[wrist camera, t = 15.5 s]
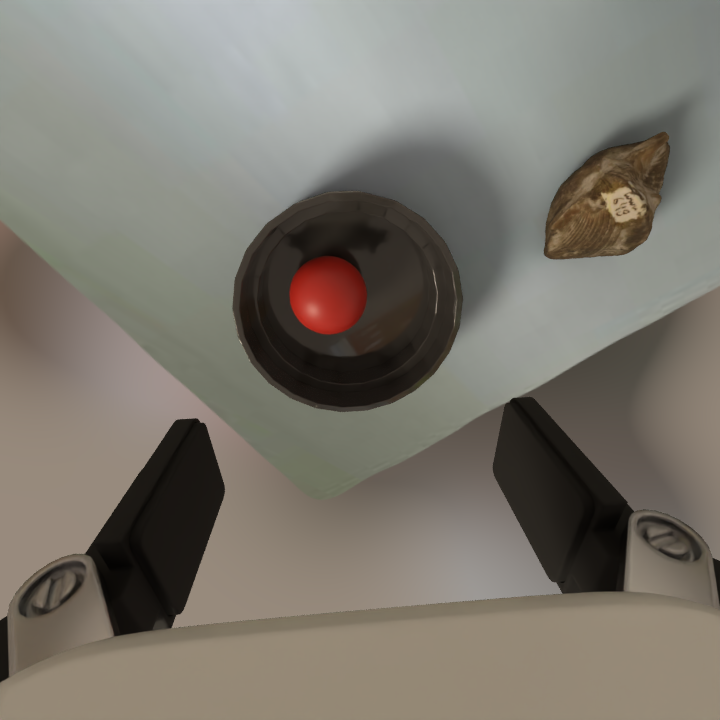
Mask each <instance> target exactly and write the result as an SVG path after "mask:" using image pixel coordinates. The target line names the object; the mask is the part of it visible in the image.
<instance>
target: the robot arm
mask: <svg viewBox="0 0 720 720" xmlns="http://www.w3.org/2000/svg"><path fill="white" fill-rule="evenodd" d="M493 473H494V476H495V478H496V480H497V482H498V484H499V486H500V488H501V490H502V492H503V493H504V495H505V497H506V499H507V501H508V503H509V505H510V506H511V508H512V510H513V512H514V514H515V516H516V518H517V520H518V522H519V523H520V525H521V527H522V529H523V531H524V533H525V534H526V537H527V538H528V540H529V542H530V544H531V546H532V548H533V550H534V552H535V553H536V555H537V557H538V559H539V561H540V563H541V564H542V567H543V568H544V570H545V572H546V574H547V576H548V577H549V579H550V580H551V581H552V582H557V584H558V586H559V588H560V590H561V592H562V593H563V594H553V595H538V596H524V597H512V598H499V599H487V600H475V601H463V602H450V603H438V604H428V605H427V604H426V605H415V606H403V607H391V608H381V609H369V610H357V611H346V612H335V613H323V614H312V615H301V616H291V617H279V618H269V619H258V620H247V621H237V622H226V623H216V624H206V625H197V626H188V627H179V628H172V625H173V622H174V619H175V617H176V615H178V614H181V613H182V611H183V610H184V607H185V605H186V602H187V599H188V596H189V594H190V591H191V588H192V585H193V582H194V580H195V577H196V574H197V571H198V568H199V565H200V563H201V560H202V557H203V554H204V551H205V549H206V546H207V543H208V540H209V537H210V534H211V532H212V529H213V526H214V523H215V520H216V517H217V515H218V512H219V509H220V506H221V503H222V501H223V497H224V493H225V487H224V482H223V479H222V476H221V473H220V469H219V466H218V463H217V460H216V456H215V453H214V450H213V447H212V444H211V440H210V437H209V434H208V430H207V427H206V425H205V424H204V423H200V421H199V420H198V419H196V418H195V419H180V420H176V421H175V422H174V423H173V425H172V426H171V428H170V429H169V431H168V432H167V434H166V435H165V437H164V438H163V440H162V441H161V443H160V444H159V446H158V448H157V449H156V450H155V452H154V453H153V455H152V456H151V458H150V459H149V461H148V462H147V464H146V465H145V467H144V468H143V469H142V470H141V472H140V473H139V474H138V476H137V477H136V479H135V480H134V482H133V483H132V485H131V486H130V488H129V489H128V491H127V492H126V494H125V495H124V497H123V498H122V500H121V501H120V503H119V504H118V506H117V507H116V509H115V510H114V512H113V513H112V515H111V516H110V518H109V519H108V520H107V522H106V523H105V525H104V527H103V528H102V529H101V531H100V532H99V534H98V535H97V537H96V538H95V540H94V542H93V543H92V544H91V546H90V547H89V549H88V550H87V552H86V553H85V554H72V555H68V556H65V557H61V558H59V559H57V560H55V561H53V562H51V563H49V564H47V565H46V566H44V567H43V568H41V569H40V570H38V571H37V572H36V573H34V574H33V575H32V576H31V577H30V578H29V579H28V580H26V582H25V583H24V584H23V585H22V586H21V587H20V588H19V590H18V591H17V592H16V593H15V595H14V597H13V599H12V600H11V602H10V604H9V609H8V614H7V616H6V617H5V618H3V619H2V620H0V720H720V561H719V560H716V559H714V558H712V554H711V551H710V549H709V546H708V545H707V544H706V542H705V541H704V539H703V538H702V537H701V536H700V535H699V534H698V533H697V532H696V531H695V530H693V529H692V528H691V527H689V526H688V525H687V524H685V523H684V522H682V521H680V520H679V519H677V518H675V517H672V516H670V515H668V514H665V513H662V512H659V511H655V510H646V509H644V510H638V511H635V512H634V511H633V510H632V509H631V508H630V506H629V505H628V504H627V501H626V500H625V499H624V498H623V497H622V496H621V494H620V493H619V492H618V491H617V490H616V489H615V488H614V487H613V486H612V485H611V483H610V482H609V481H608V480H607V479H606V478H605V477H604V476H603V475H602V473H601V472H600V471H599V470H598V469H597V468H596V467H595V466H594V465H593V463H592V462H591V461H590V460H589V459H588V458H587V457H586V456H585V455H584V454H583V453H582V451H581V450H580V449H579V448H578V447H577V446H576V445H575V444H574V443H573V441H572V440H571V439H570V438H569V437H568V436H567V435H566V434H565V432H564V431H563V430H562V429H561V428H560V427H559V426H558V425H557V424H556V422H555V421H554V420H553V419H552V418H551V417H550V416H549V415H548V414H547V412H546V411H545V410H544V409H543V408H542V407H541V406H540V405H539V404H538V403H537V401H536V400H535V399H534V398H532V397H522V398H512V399H511V400H510V403H506V405H505V407H504V412H503V417H502V422H501V427H500V432H499V437H498V442H497V448H496V452H495V458H494V462H493Z"/></svg>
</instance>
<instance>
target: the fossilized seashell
mask: <svg viewBox="0 0 720 720" xmlns="http://www.w3.org/2000/svg"><path fill="white" fill-rule="evenodd" d="M668 140H669V135H668V134H667V133H666V132H661V133H659V134H657V135H655V136H653V137H651V138H649V139H647V140H645V141H641V142H637V143H633V144H627V145H621V146H616V147H611V148H608V149H605V150H603V151H600V152H598V153H597V154H595V155H593V156H592V157H590V158H589V159H588V160H587V161H586V162H585V163H584V165H583V166H582V167H581V168H579V169H578V170H576V171H575V172H574V173H573V174H572V175H571V176H570V177H569V178H568V179H567V180H566V181H565V182H564V183H563V184H562V185H561V186H560V188H559V189H558V191H557V193H556V195H555V197H554V199H553V201H552V203H551V207H550V210H549V213H548V217H547V221H546V229H545V233H546V239H545V248H544V255H545V256H546V257H548V258H550V259H572V258H584V257H597V256H614V255H616V256H618V255H624V254H627V253H629V252H630V251H632V250H634V249H635V248H636V247H637V246H639V245H641V244H642V243H643V242H644V241H646V240H647V238H648V236H649V234H650V232H651V229H652V222H653V218H654V213H655V210H656V208H657V206H658V205H659V203H660V201H661V195H659V192H660V190H661V188H662V185H663V180H664V174H665V170H666V167H667V163H668V157H669V152H670V146H669V144H668V142H667V141H668Z"/></svg>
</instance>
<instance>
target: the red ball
mask: <svg viewBox="0 0 720 720" xmlns="http://www.w3.org/2000/svg"><path fill="white" fill-rule="evenodd" d="M289 295H290V303H291V307H292V310H293V312H294V314H295V316H296V317H297V319H298V320H299V321H300V322H301V323H302V324H303V325H304V326H305V327H307V328H308V329H310V330H312V331H314V332H317V333H321V334H337V333H341V332H344V331H346V330H348V329H349V328H351V327H352V326H353V325H355V324H356V323H357V321H358V320H359V319H360V318H361V316H362V314H363V312H364V310H365V307H366V303H367V289H366V285H365V282H364V279H363V277H362V276H361V274H360V273H359V271H358V270H357V269H356V268H355V267H354V266H353V265H352V264H351V263H349V262H348V261H346V260H344V259H341V258H338V257H334V256H321V257H317V258H314V259H312V260H310V261H308V262H306V263H305V264H304V265H302V266H301V267H300V268H299V270H298V271H297V272H296V274H295V275H294V277H293V279H292V282H291V286H290V293H289Z"/></svg>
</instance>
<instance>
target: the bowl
mask: <svg viewBox="0 0 720 720" xmlns="http://www.w3.org/2000/svg"><path fill="white" fill-rule="evenodd" d="M321 256H334V257H338V258H341V259H344V260H346V261H348V262H349V263H351V264H352V265H353V266H354V267H355V268H356V269H357V270H358V271H359V273H360V274H361V276H362V277H363V279H364V282H365V285H366V289H367V303H366V307H365V310H364V312H363V314H362V316H361V318H360V319H359V320H358V321H357V323H356V324H355V325H353V326H352V327H351V328H349V329H348V330H346V331H344V332H341V333H337V334H321V333H317V332H314V331H312V330H310V329H308V328H307V327H305V326H304V325H303V324H302V323H301V322H300V321H299V320H298V319H297V317H296V316H295V314H294V312H293V310H292V307H291V303H290V295H289V293H290V286H291V282H292V279H293V277H294V275H295V274H296V272H297V271H298V270H299V268H300V267H301V266H302V265H304V264H305V263H306V262H308V261H310V260H312V259H314V258H317V257H321ZM462 302H463V296H462V290H461V283H460V277H459V271H458V268H457V266H456V264H455V262H454V259H453V257H452V255H451V253H450V251H449V249H448V247H447V245H446V243H445V241H444V240H443V239H442V238H441V237H440V236H439V234H438V233H437V232H436V231H435V230H434V229H433V228H432V227H431V225H430V224H429V223H428V222H427V221H426V220H425V219H424V218H423V217H421V216H420V215H418V214H416V213H415V212H413V211H412V210H410V209H408V208H407V207H405V206H403V205H402V204H400V203H399V202H397V201H395V200H391V199H387V198H383V197H380V196H376V195H372V194H368V193H365V192H361V191H332V192H326V193H323V194H320V195H317V196H314V197H311V198H308V199H305V200H302V201H300V202H298V203H296V204H294V205H292V206H291V207H289V208H288V209H287V210H285V211H284V212H282V213H281V214H280V215H278V216H277V217H275V218H274V219H272V220H271V221H270V222H268V223H267V224H266V225H265V226H264V228H263V229H262V230H261V231H260V233H259V234H258V235H257V237H256V238H255V239H254V240H253V242H252V243H251V244H250V246H249V247H248V248H247V250H246V252H245V254H244V257H243V259H242V262H241V265H240V267H239V270H238V272H237V275H236V277H235V283H234V296H233V315H234V319H235V324H236V329H237V334H238V338H239V340H240V342H241V344H242V346H243V348H244V350H245V352H246V354H247V356H248V358H249V360H250V362H251V363H252V365H253V366H254V367H255V368H256V369H257V370H258V371H259V372H260V374H261V375H262V376H263V377H264V378H265V379H266V380H267V381H268V383H270V384H271V385H272V386H274V387H275V388H277V389H278V390H280V391H281V392H282V393H284V394H285V395H287V396H288V397H290V398H292V399H294V400H296V401H299V402H301V403H304V404H307V405H309V406H312V407H314V408H319V409H325V410H332V411H338V412H348V411H364V410H370V409H373V408H377V407H380V406H384V405H387V404H391V403H393V402H395V401H397V400H399V399H401V398H402V397H404V396H406V395H408V394H410V393H412V392H413V391H414V390H416V389H417V388H419V387H420V386H421V385H422V384H423V383H424V382H425V381H426V380H428V379H429V378H430V377H431V376H432V375H433V374H434V373H435V372H436V371H437V369H438V368H439V366H440V365H441V364H442V362H443V361H444V359H445V358H446V356H447V355H448V354H449V352H450V350H451V347H452V345H453V342H454V340H455V337H456V335H457V332H458V329H459V326H460V319H461V310H462Z"/></svg>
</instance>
